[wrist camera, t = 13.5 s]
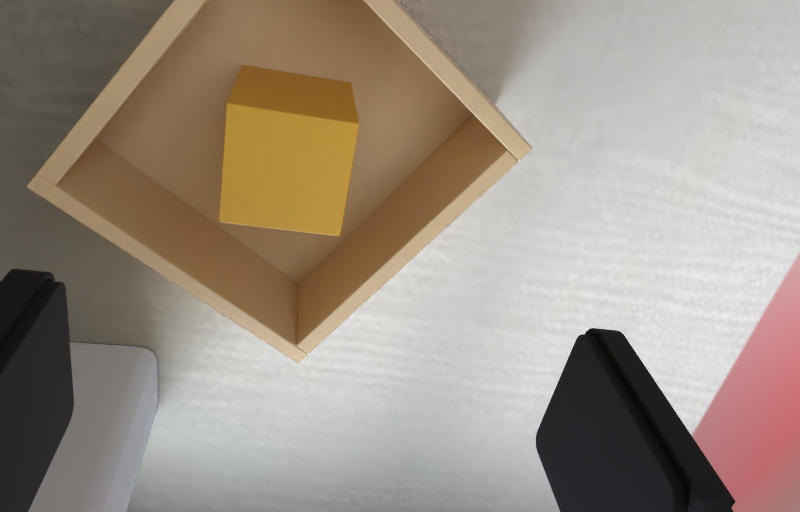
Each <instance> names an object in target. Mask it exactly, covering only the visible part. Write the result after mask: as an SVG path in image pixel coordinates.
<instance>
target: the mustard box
mask: <svg viewBox="0 0 800 512" xmlns="http://www.w3.org/2000/svg"><path fill="white" fill-rule="evenodd" d="M359 125H360V124H359V119H358V114H357V109H356V104H355V100H354V95H353V90H352V85H351V83H350V82H344V81H338V80H332V79H326V78H320V77H314V76H308V75H302V74H296V73H290V72H284V71H278V70H272V69H267V68H261V67H255V66H249V65H242V67H241V70H240V72H239V75H238V77H237V79H236V82H235V84H234V87H233V89H232V92H231V94H230V97H229V99H228V101H227V104H226V119H225V134H224V149H223V165H222V180H221V195H220V210H219V222H221V223H230V224H238V225H247V226H256V227H264V228H273V229H281V230H290V231H298V232H307V233H315V234H324V235H332V236H340V235H341V231H342V225H343V219H344V213H345V207H346V201H347V195H348V190H349V184H350V178H351V172H352V166H353V160H354V155H355V149H356V143H357V137H358V131H359Z"/></svg>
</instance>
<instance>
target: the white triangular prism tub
mask: <svg viewBox="0 0 800 512" xmlns="http://www.w3.org/2000/svg"><path fill="white" fill-rule="evenodd" d="M70 352H71V366H72V379H73V393H74V408H73V414H72V417H71V421H70V423H69V425H68V427H67V430H66V432H65V434H64V436H63V438H62V440H61V443H60V445H59V447H58V449H57V451H56V453H55V455H54V458H53V460H52V462H51V464H50V466H49V468H48V470H47V473H46V475H45V477H44V479H43V481H42V483H41V485H40V488H39V490H38V492H37V494H36V496H35V498H34V501H33V503H32V505H31V507H30V509H29V511H28V512H126V511H127V507H128V504H129V501H130V497H131V494H132V491H133V487H134V484H135V481H136V477H137V474H138V471H139V467H140V464H141V461H142V457H143V454H144V451H145V447H146V444H147V441H148V437H149V434H150V431H151V427H152V424H153V421H154V417H155V414H156V411H157V406H158V361H157V358H156V355H155V354H154V353H153V352H151V351H150V350H149V349H146V348H142V347H135V346H120V345H105V344H90V343H76V342H70Z"/></svg>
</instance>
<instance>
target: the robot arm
mask: <svg viewBox="0 0 800 512" xmlns="http://www.w3.org/2000/svg"><path fill="white" fill-rule="evenodd" d="M73 408H74V393H73V379H72V366H71V352H70V339H69V325H68V312H67V298H66V288H65V285H64V283H63V282H55V280H54V277H53V274H52V273H50V272H41V271H32V270H22V269H12V270H10V271H9V272H8V273H7V275H6V276H5V277H4V278H3V280H2V281H1V282H0V512H28V511H29V509H30V507H31V505H32V503H33V501H34V498H35V496H36V494H37V492H38V490H39V488H40V485H41V483H42V481H43V479H44V477H45V475H46V473H47V470H48V468H49V466H50V464H51V462H52V460H53V458H54V455H55V453H56V451H57V449H58V447H59V445H60V443H61V440H62V438H63V436H64V434H65V432H66V430H67V427H68V425H69V423H70V421H71V417H72V414H73ZM536 448H537V451H538V454H539V457H540V459H541V462H542V465H543V467H544V470H545V473H546V475H547V478H548V480H549V483H550V486H551V488H552V491H553V494H554V496H555V499H556V501H557V504H558V507H559V509H560V512H733V510H732V509H731V507H732V506H733V504H734V503H735V500H734V499H733V497H732V496H731V494H730V493H729V491H728V490H727V488H726V487H725V485H724V484H723V482H722V481H721V479H720V478H719V476H718V475H717V473H716V472H715V470H714V469H713V467H712V466H711V465H710V463H709V461H708V460H707V458H706V457H705V456H704V454H703V452H702V451H701V450H700V448H699V446H698V445H697V443H696V442H695V440H694V439H693V438H692V436H691V435H690V433H689V432H688V430H687V429H686V427H685V426H684V424H683V423H682V421H681V420H680V418H679V417H678V415H677V414H676V412H675V411H674V409H673V408H672V406H671V405H670V403H669V402H668V400H667V399H666V397H665V396H664V394H663V393H662V391H661V390H660V388H659V387H658V385H657V384H656V382H655V381H654V379H653V378H652V376H651V375H650V373H649V372H648V370H647V369H646V367H645V366H644V364H643V363H642V361H641V360H640V358H639V357H638V355H637V354H636V352H635V351H634V349H633V348H632V346H631V345H630V343H629V342H628V340H627V339H626V337H625V336H624V335H623V334H622V333H621V332H619V331H615V330H605V329H595V328H592V329H589V330H588V331H587V332H586V333H585V335H580V336H579V337H578V338H577V340H576V342H575V344H574V346H573V349H572V351H571V353H570V356H569V358H568V360H567V363H566V365H565V367H564V370H563V372H562V375H561V377H560V379H559V382H558V384H557V386H556V389H555V391H554V393H553V396H552V398H551V400H550V403H549V405H548V408H547V410H546V412H545V415H544V417H543V419H542V422H541V424H540V426H539V429H538V431H537V435H536Z"/></svg>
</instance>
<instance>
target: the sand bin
mask: <svg viewBox="0 0 800 512" xmlns="http://www.w3.org/2000/svg"><path fill="white" fill-rule="evenodd" d="M242 65H249V66H255V67H261V68H267V69H272V70H278V71H284V72H290V73H296V74H302V75H308V76H314V77H320V78H326V79H332V80H338V81H344V82H350V83H351V85H352V90H353V95H354V100H355V104H356V109H357V114H358V119H359V124H360V125H359V131H358V137H357V143H356V149H355V155H354V160H353V166H352V172H351V178H350V184H349V190H348V195H347V201H346V207H345V213H344V219H343V225H342V231H341V235H340V236H332V235H324V234H315V233H307V232H298V231H290V230H281V229H273V228H264V227H256V226H247V225H238V224H230V223H221V222H219V210H220V195H221V180H222V165H223V149H224V134H225V119H226V104H227V101H228V99H229V97H230V94H231V92H232V89H233V87H234V84H235V82H236V79H237V77H238V75H239V72H240V70H241V67H242ZM531 149H532V147H531V146H530V145H529V143H528V142H527V141H526V140H525V139H524V138H523V136H522V135H521V134H520V133H519V132H518V131H517V130H516V128H515V127H514V126H513V125H512V124H511V123H510V121H509V120H508V119H507V118H506V117H505V116H504V115H503V113H502V112H501V111H500V110H499V109H498V108H497V107H496V105H495V104H494V103H493V102H492V101H491V100H490V99H489V98H488V97H487V96H486V95H485V94H484V92H483V91H482V90H481V89H480V88H479V87H478V86H477V85H476V84H475V83H474V82H473V81H472V80H471V79H470V78H469V76H468V75H467V74H466V73H465V72H464V71H463V70H462V69H461V68H460V67H459V66H458V65H457V64H456V63H455V61H454V60H453V59H452V58H451V57H450V56H449V55H448V54H447V53H446V52H445V51H444V50H443V49H442V48H441V46H440V45H439V44H438V43H437V42H436V41H435V40H434V39H433V38H432V37H431V36H430V35H429V34H428V33H427V31H426V30H425V29H424V28H423V27H422V26H421V25H420V24H419V23H418V22H417V21H416V20H415V19H414V18H413V17H412V15H411V14H410V13H409V12H408V11H407V10H406V9H405V8H404V7H403V6H402V5H401V4H400V3H399V2H398V0H174V1H173V2H172V3H171V4H170V6H169V7H168V8H167V9H166V11H165V12H164V13H163V14H162V16H161V17H160V18H159V19H158V21H157V22H156V23H155V25H154V26H153V27H152V28H151V30H150V31H149V32H148V33H147V35H146V36H145V37H144V38H143V40H142V41H141V42H140V44H139V45H138V46H137V47H136V49H135V50H134V51H133V52H132V54H131V55H130V56H129V57H128V59H127V60H126V61H125V62H124V64H123V65H122V66H121V68H120V69H119V70H118V71H117V73H116V74H115V75H114V76H113V78H112V79H111V80H110V81H109V83H108V84H107V85H106V87H105V88H104V89H103V90H102V92H101V93H100V94H99V95H98V97H97V98H96V99H95V100H94V102H93V103H92V104H91V105H90V107H89V108H88V109H87V111H86V112H85V113H84V114H83V116H82V117H81V118H80V119H79V121H78V122H77V123H76V124H75V126H74V127H73V128H72V130H71V131H70V132H69V133H68V135H67V136H66V137H65V138H64V140H63V141H62V142H61V143H60V145H59V146H58V147H57V148H56V150H55V151H54V152H53V154H52V155H51V156H50V157H49V159H48V160H47V161H46V162H45V164H44V165H43V166H42V167H41V169H40V170H39V171H38V173H37V174H36V175H35V176H34V178H33V179H32V180H31V181H30V183H29V184H28V185H27V188H28V189H30V190H31V191H33V192H35V193H36V194H38V195H39V196H41V197H42V198H44V199H45V200H47V201H48V202H50V203H52V204H53V205H55V206H56V207H58V208H59V209H61V210H62V211H64V212H65V213H67V214H68V215H70V216H72V217H73V218H75V219H76V220H78V221H79V222H81V223H82V224H84V225H85V226H87V227H88V228H90V229H92V230H93V231H95V232H96V233H98V234H99V235H101V236H102V237H104V238H105V239H107V240H109V241H110V242H112V243H113V244H115V245H116V246H118V247H119V248H121V249H122V250H124V251H125V252H127V253H129V254H130V255H132V256H133V257H135V258H136V259H138V260H139V261H141V262H142V263H144V264H145V265H147V266H149V267H150V268H152V269H153V270H155V271H156V272H158V273H159V274H161V275H162V276H164V277H166V278H167V279H169V280H170V281H172V282H173V283H175V284H176V285H178V286H179V287H181V288H182V289H184V290H186V291H187V292H189V293H190V294H192V295H193V296H195V297H196V298H198V299H199V300H201V301H202V302H204V303H206V304H207V305H209V306H210V307H212V308H213V309H215V310H216V311H218V312H219V313H221V314H222V315H224V316H226V317H227V318H229V319H230V320H232V321H233V322H235V323H236V324H238V325H239V326H241V327H243V328H244V329H246V330H247V331H249V332H250V333H252V334H253V335H255V336H256V337H258V338H259V339H261V340H263V341H264V342H266V343H267V344H269V345H270V346H272V347H273V348H275V349H276V350H278V351H279V352H281V353H283V354H284V355H286V356H287V357H289V358H290V359H292V360H293V361H295V362H296V363H299V362H300V361H301V360H302V359H303V358H304V357H305V356H306V355H307V354H308V353H310V352H311V351H312V350H313V349H314V348H315V347H316V346H317V345H318V344H319V343H321V342H322V341H323V340H324V339H325V338H326V337H327V336H328V335H329V334H330V333H331V332H333V331H334V330H335V329H336V328H337V327H338V326H339V325H340V324H341V323H342V322H343V321H345V320H346V319H347V318H348V317H349V316H350V315H351V314H352V313H353V312H354V311H356V310H357V309H358V308H359V307H360V306H361V305H362V304H363V303H364V302H365V301H366V300H368V299H369V298H370V297H371V296H372V295H373V294H374V293H375V292H376V291H377V290H378V289H380V288H381V287H382V286H383V285H384V284H385V283H386V282H387V281H388V280H389V279H391V278H392V277H393V276H394V275H395V274H396V273H397V272H398V271H399V270H400V269H401V268H403V267H404V266H405V265H406V264H407V263H408V262H409V261H410V260H411V259H412V258H414V257H415V256H416V255H417V254H418V253H419V252H420V251H421V250H422V249H423V248H424V247H426V246H427V245H428V244H429V243H430V242H431V241H432V240H433V239H434V238H435V237H436V236H438V235H439V234H440V233H441V232H442V231H443V230H444V229H445V228H446V227H447V226H449V225H450V224H451V223H452V222H453V221H454V220H455V219H456V218H457V217H458V216H459V215H461V214H462V213H463V212H464V211H465V210H466V209H467V208H468V207H469V206H470V205H471V204H473V203H474V202H475V201H476V200H477V199H478V198H479V197H480V196H481V195H482V194H484V193H485V192H486V191H487V190H488V189H489V188H490V187H491V186H492V185H493V184H494V183H496V182H497V181H498V180H499V179H500V178H501V177H502V176H503V175H504V174H505V173H507V172H508V171H509V170H510V169H511V168H512V167H513V166H514V165H515V164H516V163H517V162H518V160H521V159H522V158H523V157H524V156H525V155H526V154H527V153H528V152H529V151H530V150H531Z"/></svg>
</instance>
